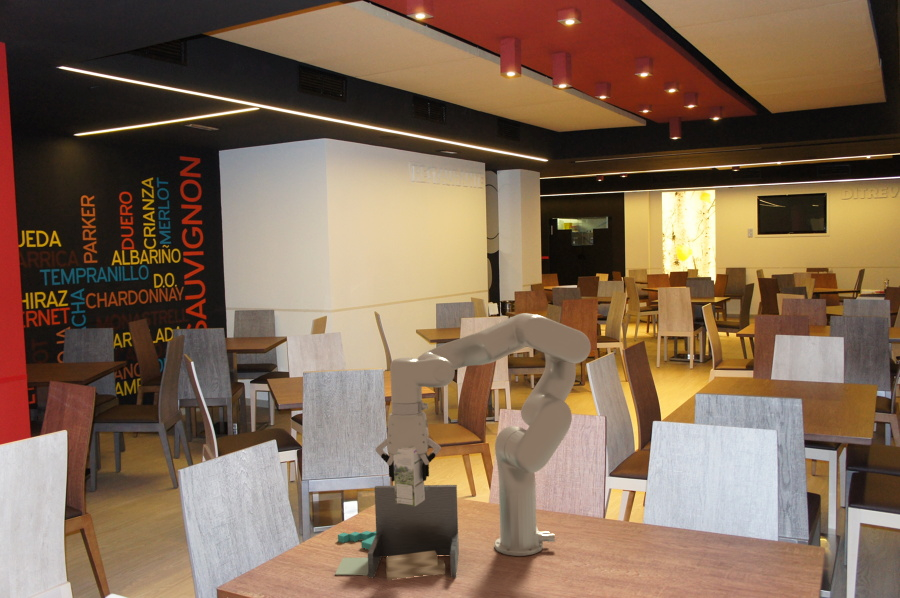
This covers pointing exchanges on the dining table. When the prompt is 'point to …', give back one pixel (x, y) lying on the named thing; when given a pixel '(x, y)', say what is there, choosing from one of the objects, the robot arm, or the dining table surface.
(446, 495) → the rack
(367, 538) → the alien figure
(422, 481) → the syrup box
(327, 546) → the dining table surface
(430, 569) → the offcut stack
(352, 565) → the mat
